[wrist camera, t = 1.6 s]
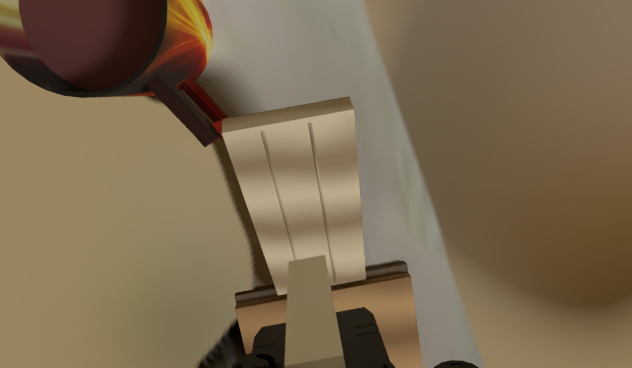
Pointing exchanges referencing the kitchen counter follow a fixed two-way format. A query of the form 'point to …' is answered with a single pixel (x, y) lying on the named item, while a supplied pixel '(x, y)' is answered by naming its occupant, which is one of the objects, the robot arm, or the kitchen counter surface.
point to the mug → (116, 52)
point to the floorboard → (372, 293)
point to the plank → (301, 186)
